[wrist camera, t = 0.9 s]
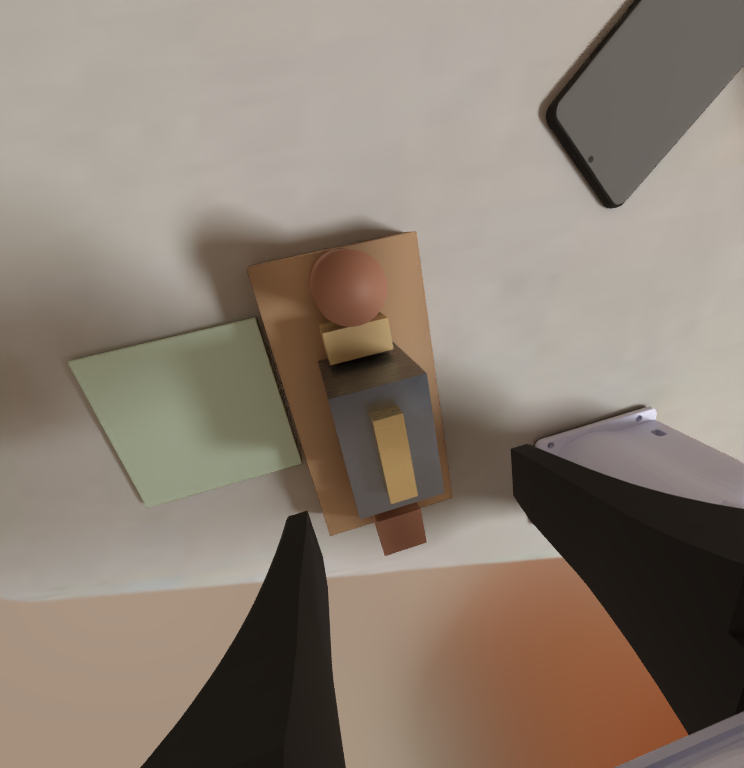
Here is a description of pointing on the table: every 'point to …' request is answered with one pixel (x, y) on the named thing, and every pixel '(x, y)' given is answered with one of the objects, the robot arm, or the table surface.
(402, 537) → the block sculpture plaque
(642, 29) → the smartphone
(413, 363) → the grey block
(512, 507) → the table surface
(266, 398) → the mat
